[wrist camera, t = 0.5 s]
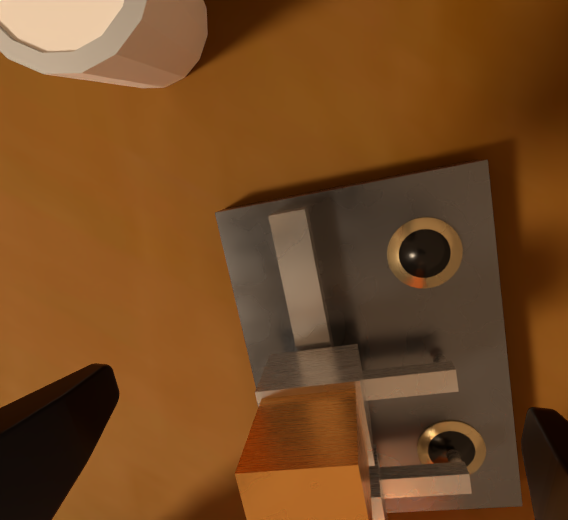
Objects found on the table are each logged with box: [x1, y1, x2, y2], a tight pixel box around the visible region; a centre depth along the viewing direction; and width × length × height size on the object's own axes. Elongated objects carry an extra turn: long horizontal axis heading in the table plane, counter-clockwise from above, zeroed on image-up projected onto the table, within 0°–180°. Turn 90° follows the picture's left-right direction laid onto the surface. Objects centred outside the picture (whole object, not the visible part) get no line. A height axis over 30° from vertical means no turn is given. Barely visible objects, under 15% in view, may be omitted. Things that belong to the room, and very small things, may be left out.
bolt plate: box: [215, 160, 522, 520], centre depth 19 cm, size 17×12×6 cm
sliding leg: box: [235, 344, 459, 520], centre depth 16 cm, size 4×8×8 cm, turn 102°
